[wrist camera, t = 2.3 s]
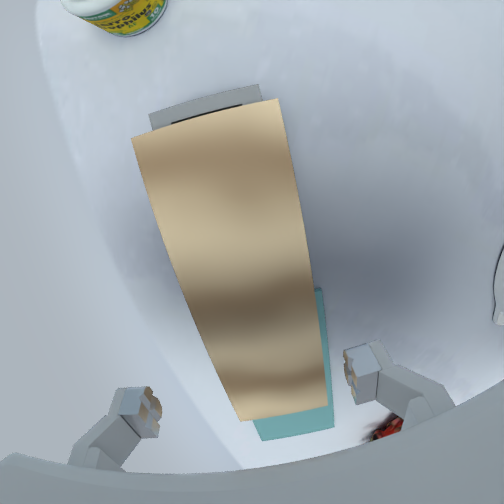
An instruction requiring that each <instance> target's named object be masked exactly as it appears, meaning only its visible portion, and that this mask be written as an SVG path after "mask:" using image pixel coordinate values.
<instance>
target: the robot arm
mask: <svg viewBox="0 0 504 504" xmlns="http://www.w3.org/2000/svg"><path fill="white" fill-rule="evenodd" d="M494 295H495V301H496V307H495V312H494V316H493V322H494V323H496V324H497V325H498V326H502V325H504V249H503V252H502V254H501V257H500V260H499V263H498V267H497V271H496V275H495V282H494ZM343 357H344V359H345V363H344V371H345V376H346V380H347V383H348V385H349V386H351V392H352V396H353V398H354V401H355V404H356V405H359V404H362V403H366V402H369V401H373V400H376V401H378V402H379V403H380V404H382V405H383V406H385V407H386V408H388V409H389V410H390V411H392V412H393V413H395V414H396V415H398V416H399V417H401V418H402V419H404V422H403V425H402V428H401V431H399V432H397V433H394V434H391V435H389V436H386V437H383V438H380V439H377V440H374V441H371V442H368V443H365V444H362V445H359V446H356V447H352V448H349V449H345V450H342V451H338V452H334V453H331V454H327V455H323V456H318V457H314V458H310V459H305V460H300V461H295V462H290V463H285V464H279V465H273V466H267V467H260V468H253V469H245V470H236V471H225V472H212V473H192V474H150V473H131V472H126V471H125V470H123V469H122V468H121V466H122V464H123V463H124V462H125V460H126V459H127V458H128V456H129V455H130V454H131V452H132V451H133V450H134V448H135V447H136V446H137V444H138V443H139V442H140V440H141V438H158V434H159V428H160V425H159V424H158V421H159V420H160V418H161V416H162V407H161V404H160V401H159V400H158V398H156V397H154V396H153V395H152V394H153V391H152V390H151V388H150V387H147V386H146V387H128V388H118V389H117V390H116V392H115V395H114V398H113V401H112V404H111V407H110V410H109V413H108V415H105V416H104V417H103V418H102V419H101V420H100V421H99V422H97V423H96V424H95V425H94V426H93V427H92V428H91V429H90V430H89V431H88V432H87V433H86V434H85V435H84V436H83V437H81V438H80V439H79V440H78V441H77V442H76V443H75V444H74V446H73V449H72V452H71V455H70V458H69V461H68V464H61V463H56V462H52V461H47V460H43V459H38V458H34V457H30V456H27V455H23V454H19V453H12V454H10V455H9V456H7V457H6V458H4V459H3V460H2V461H1V462H0V504H504V379H503V380H502V381H500V382H499V383H497V384H495V385H494V386H492V387H490V388H489V389H487V390H485V391H484V392H482V393H480V394H478V395H477V396H475V397H473V398H471V399H469V400H467V401H465V402H464V403H462V404H460V405H458V406H455V404H454V402H453V401H452V399H451V397H450V396H449V394H448V393H447V391H446V389H445V388H444V386H443V385H441V384H439V383H437V382H435V381H432V380H430V379H428V378H426V377H424V376H422V375H419V374H417V373H415V372H413V371H411V370H409V369H407V368H405V367H402V366H400V365H394V363H393V361H392V359H391V358H390V356H389V354H388V353H387V351H386V349H385V347H384V346H383V344H382V342H381V341H380V340H379V339H378V340H375V341H371V342H368V343H365V344H362V345H359V346H355V347H352V348H349V349H345V350H344V352H343Z"/></svg>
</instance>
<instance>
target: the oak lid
mask: <svg viewBox="0 0 504 504" xmlns="http://www.w3.org/2000/svg"><path fill="white" fill-rule="evenodd" d="M131 141H132V144H133V148H134V151H135V155H136V158H137V161H138V165H139V168H140V171H141V175H142V178H143V181H144V184H145V188H146V191H147V194H148V197H149V200H150V203H151V206H152V209H153V212H154V215H155V218H156V221H157V224H158V227H159V230H160V233H161V236H162V238H163V241H164V244H165V247H166V250H167V252H168V255H169V258H170V261H171V263H172V266H173V269H174V271H175V274H176V277H177V279H178V282H179V284H180V287H181V289H182V292H183V295H184V297H185V300H186V302H187V305H188V307H189V309H190V312H191V314H192V317H193V319H194V322H195V324H196V326H197V329H198V331H199V333H200V336H201V338H202V340H203V343H204V345H205V347H206V350H207V352H208V354H209V356H210V359H211V361H212V363H213V365H214V368H215V370H216V372H217V374H218V376H219V378H220V381H221V383H222V385H223V387H224V389H225V391H226V393H227V395H228V397H229V400H230V402H231V404H232V406H233V408H234V410H235V412H236V414H237V416H238V418H239V420H240V422H241V421H249V420H256V419H262V418H268V417H274V416H280V415H286V414H291V413H296V412H301V411H306V410H310V409H315V408H319V407H324V406H328V400H327V389H326V380H325V370H324V361H323V352H322V344H321V336H320V328H319V320H318V313H317V305H316V298H315V291H314V285H313V278H312V271H311V265H310V259H309V252H308V246H307V240H306V234H305V229H304V223H303V217H302V212H301V206H300V201H299V196H298V190H297V185H296V180H295V175H294V170H293V165H292V160H291V155H290V151H289V146H288V141H287V137H286V132H285V127H284V123H283V118H282V114H281V110H280V105H279V101H278V98H277V99H272V100H267V101H262V102H257V103H252V104H247V105H243V106H239V107H234V108H230V109H226V110H222V111H218V112H214V113H210V114H207V115H203V116H199V117H196V118H192V119H189V120H185V121H182V122H179V123H175V124H172V125H169V126H166V127H163V128H160V129H157V130H154V131H151V132H148V133H145V134H142V135H139V136H136V137H134V138H131Z"/></svg>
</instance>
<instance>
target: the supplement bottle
mask: <svg viewBox="0 0 504 504" xmlns="http://www.w3.org/2000/svg"><path fill="white" fill-rule="evenodd" d="M60 1H61V4H62V6H63V7H64V8H65V9H66V10H67V11H68V12H69V13H71V14H73V15H75V16H77V17H79V18H81V19H83V20H85V21H87V22H89V23H91V24H94V25H95V26H97V27H99V28H101V29H103V30H105V31H107V32H109V33H111V34H114V35H117V36H124V37H127V36H133V35H136V34H139V33H141V32H143V31H145V30H147V29H148V28H150V27H151V26H152V25H153V24H154V23H155V22H156V21H157V20H158V19H159V18H160V16H161V15H162V13H163V12H164V10H165V7H166V4H167V0H60Z"/></svg>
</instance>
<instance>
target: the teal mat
mask: <svg viewBox="0 0 504 504" xmlns="http://www.w3.org/2000/svg"><path fill="white" fill-rule="evenodd" d="M314 291H315V298H316V305H317V313H318V320H319V328H320V336H321V344H322V352H323V361H324V370H325V380H326V389H327V400H328V406H324V407H319V408H315V409H310V410H306V411H301V412H296V413H291V414H286V415H280V416H274V417H268V418H262V419H256V420H253V423H254V425H255V427H256V429H257V431H258V434H259V436H260V438H261V440H262V441H267V440H274V439H280V438H286V437H291V436H297V435H302V434H307V433H311V432H316V431H321V430H325V429H329V428H333V427H334V412H333V397H332V384H331V372H330V361H329V351H328V341H327V331H326V322H325V314H324V305H323V297H322V290H321V288H319V289H315V290H314Z"/></svg>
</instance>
